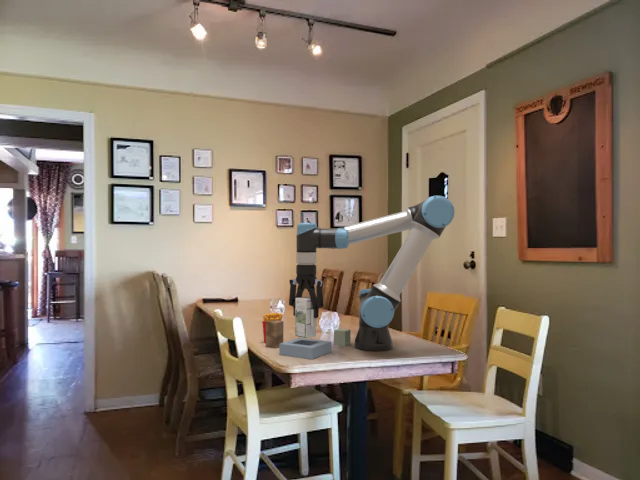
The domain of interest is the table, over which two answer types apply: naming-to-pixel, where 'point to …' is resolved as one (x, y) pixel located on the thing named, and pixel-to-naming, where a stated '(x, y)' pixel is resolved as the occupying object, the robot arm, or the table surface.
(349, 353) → the table surface
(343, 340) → the greygreen peg
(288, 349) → the hole block
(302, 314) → the syrup box
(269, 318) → the french fries
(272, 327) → the walnut peg
